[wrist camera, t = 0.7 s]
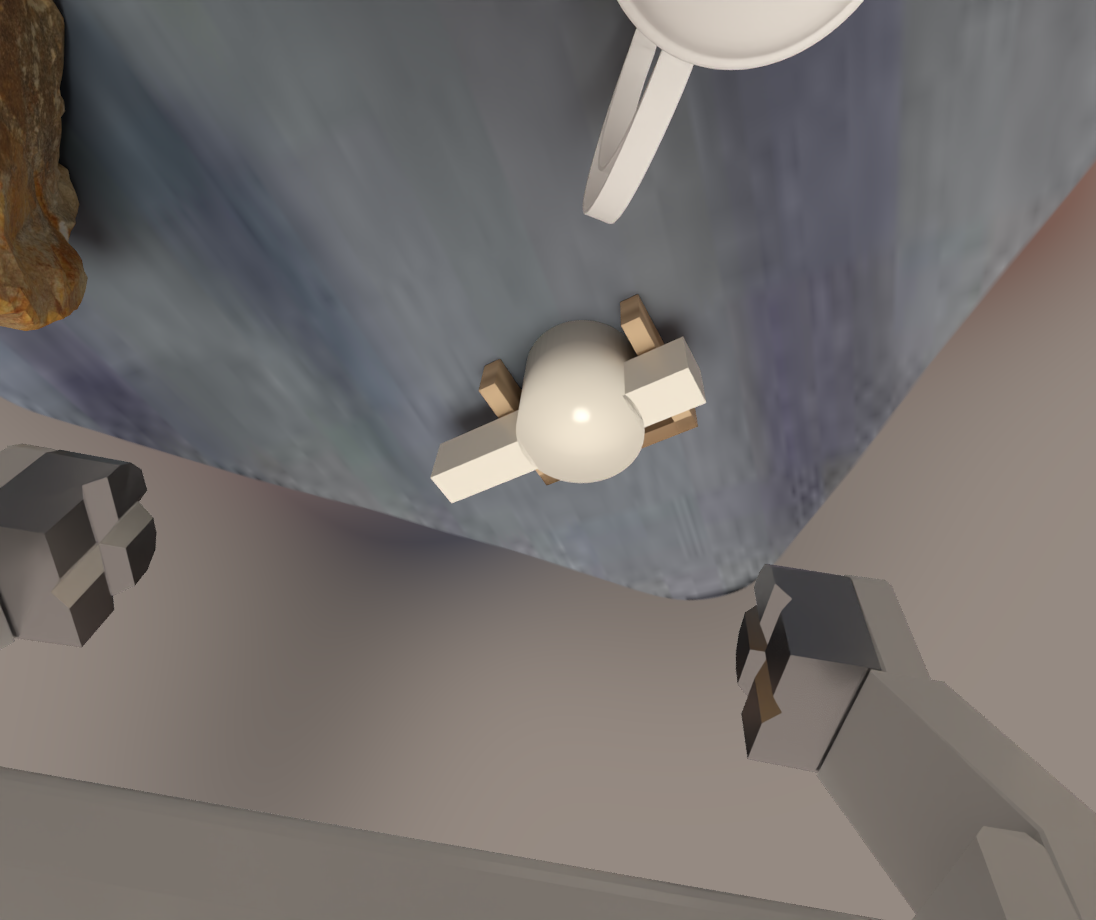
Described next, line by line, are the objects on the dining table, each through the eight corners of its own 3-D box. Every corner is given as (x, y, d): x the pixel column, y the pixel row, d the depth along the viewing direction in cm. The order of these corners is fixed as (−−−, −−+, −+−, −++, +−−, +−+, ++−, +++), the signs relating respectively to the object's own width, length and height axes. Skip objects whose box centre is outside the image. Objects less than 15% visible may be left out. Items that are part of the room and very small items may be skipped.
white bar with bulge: (427, 386, 51) (406, 448, 46) (662, 275, 45) (669, 331, 40) (486, 463, 55) (473, 529, 50) (709, 371, 49) (722, 434, 44)
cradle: (484, 366, 50) (478, 390, 48) (637, 294, 46) (639, 316, 44) (549, 458, 54) (546, 485, 52) (693, 400, 51) (697, 426, 48)
